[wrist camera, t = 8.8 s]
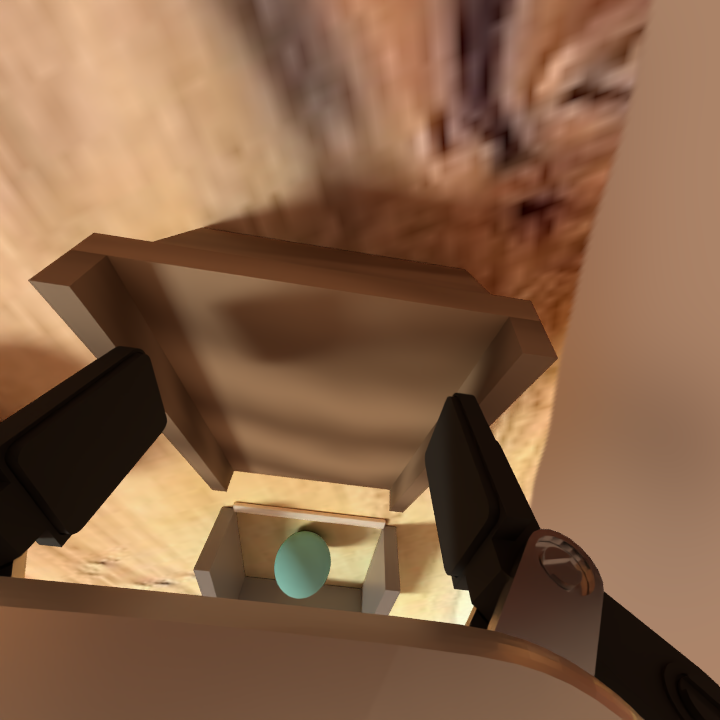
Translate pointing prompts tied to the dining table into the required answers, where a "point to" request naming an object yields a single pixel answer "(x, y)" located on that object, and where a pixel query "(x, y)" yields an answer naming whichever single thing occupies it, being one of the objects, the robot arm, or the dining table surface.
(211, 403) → the walnut ramp
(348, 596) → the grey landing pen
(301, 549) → the teal rubber ball
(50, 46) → the dining table surface
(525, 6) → the dining table surface
